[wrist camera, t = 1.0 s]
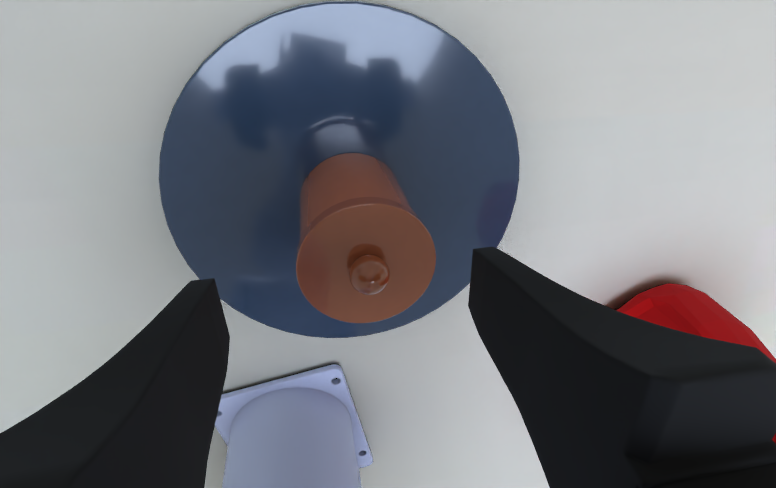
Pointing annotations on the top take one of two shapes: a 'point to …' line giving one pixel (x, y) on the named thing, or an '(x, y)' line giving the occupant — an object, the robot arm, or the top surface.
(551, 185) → the top surface
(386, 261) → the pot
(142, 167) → the top surface
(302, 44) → the plate
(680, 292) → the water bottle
